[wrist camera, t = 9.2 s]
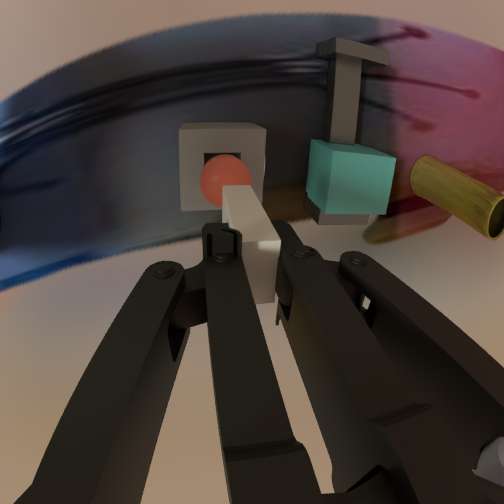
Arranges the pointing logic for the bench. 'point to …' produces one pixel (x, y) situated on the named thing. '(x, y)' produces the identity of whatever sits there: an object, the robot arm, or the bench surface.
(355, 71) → the rail
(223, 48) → the bench surface
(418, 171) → the vase
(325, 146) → the block
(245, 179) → the red ball knob
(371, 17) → the bench surface
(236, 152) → the grey cube housing
